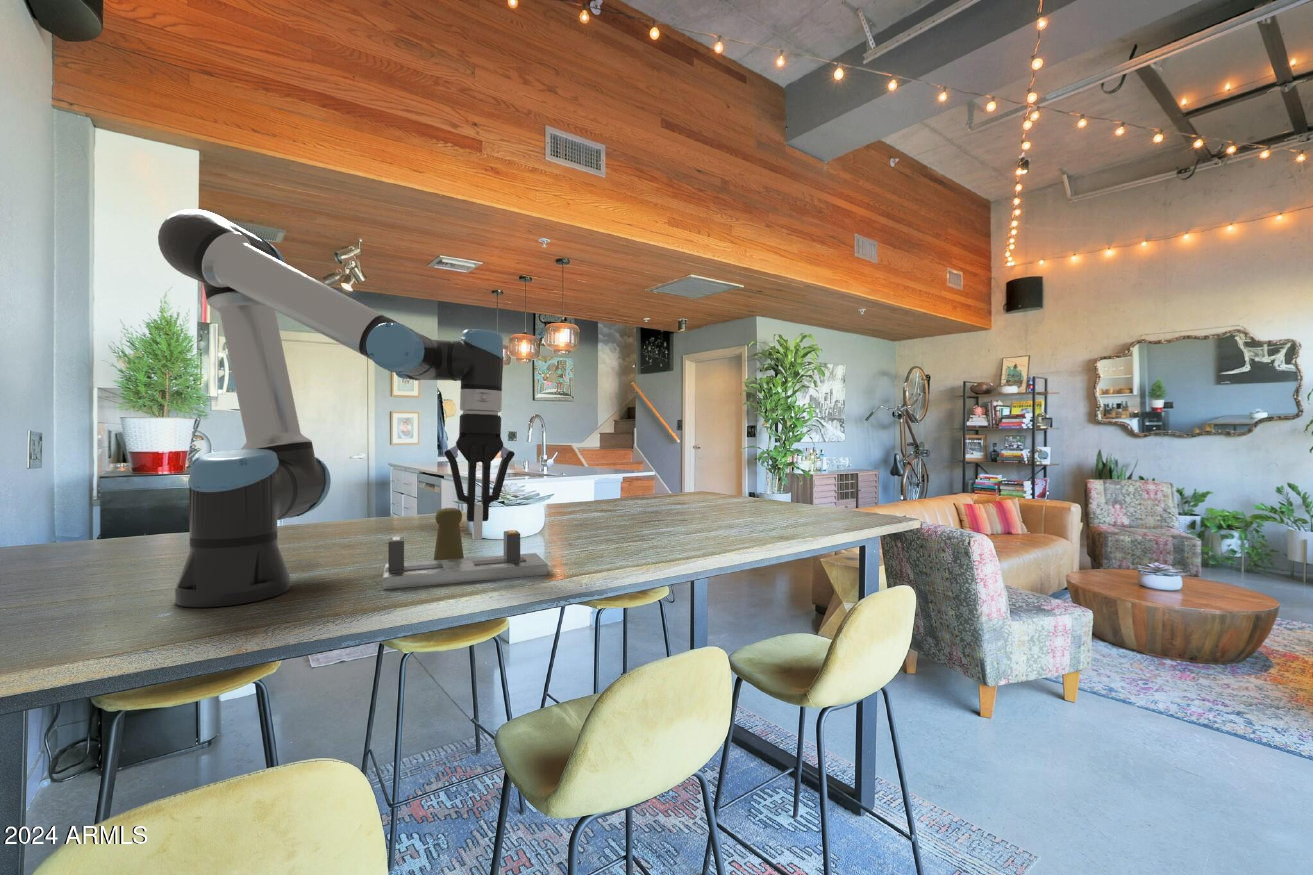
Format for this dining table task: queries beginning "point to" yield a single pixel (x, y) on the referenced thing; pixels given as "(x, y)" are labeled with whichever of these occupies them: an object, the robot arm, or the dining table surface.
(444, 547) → the cork
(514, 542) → the block
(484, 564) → the panel
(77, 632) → the dining table surface
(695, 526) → the dining table surface
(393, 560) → the block
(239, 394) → the robot arm
